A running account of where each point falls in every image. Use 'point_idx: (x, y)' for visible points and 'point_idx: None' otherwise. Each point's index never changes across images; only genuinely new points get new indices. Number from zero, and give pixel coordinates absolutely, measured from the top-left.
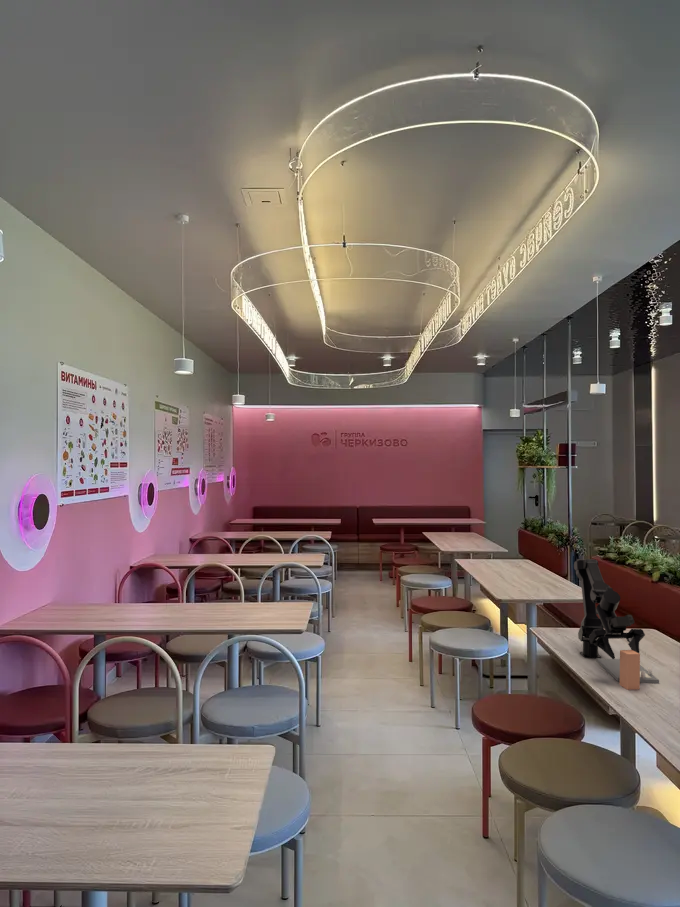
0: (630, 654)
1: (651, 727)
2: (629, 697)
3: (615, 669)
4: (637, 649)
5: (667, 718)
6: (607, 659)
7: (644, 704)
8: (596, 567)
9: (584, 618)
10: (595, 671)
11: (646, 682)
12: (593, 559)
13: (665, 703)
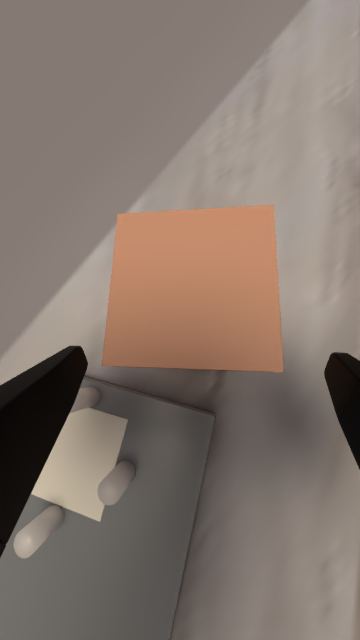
0: (236, 209)
1: (337, 38)
2: None
3: (143, 559)
4: (12, 390)
5: (245, 92)
6: None
7: (251, 183)
8: None
9: None
10: (246, 604)
11: (93, 379)
12: None
13: (169, 191)
